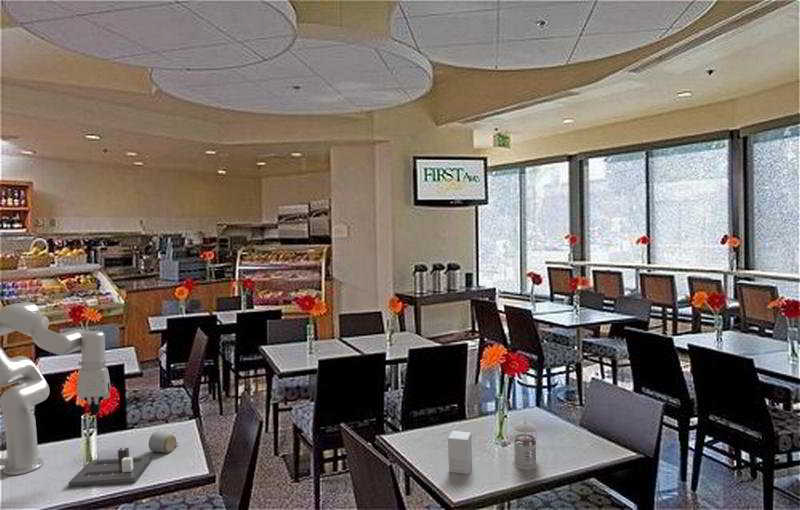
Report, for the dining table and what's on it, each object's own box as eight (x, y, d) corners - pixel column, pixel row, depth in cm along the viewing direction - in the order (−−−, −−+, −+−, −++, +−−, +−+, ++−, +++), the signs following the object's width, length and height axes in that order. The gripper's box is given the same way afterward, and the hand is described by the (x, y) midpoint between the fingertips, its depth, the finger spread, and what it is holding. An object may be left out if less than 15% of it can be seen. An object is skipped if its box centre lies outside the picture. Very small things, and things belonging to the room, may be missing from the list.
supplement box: (472, 465, 205) (472, 432, 204) (468, 474, 198) (467, 439, 197) (453, 463, 207) (452, 430, 206) (448, 472, 200) (447, 437, 199)
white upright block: (122, 472, 201) (121, 459, 201) (124, 469, 204) (124, 457, 203) (131, 471, 202) (130, 459, 201) (133, 468, 204) (132, 456, 204)
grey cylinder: (165, 456, 220) (164, 437, 219) (148, 454, 222) (147, 435, 222) (183, 446, 230) (182, 427, 229) (167, 444, 232) (166, 425, 232)
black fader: (118, 462, 210) (117, 450, 209) (120, 459, 212) (120, 447, 212) (126, 461, 210) (126, 449, 210) (129, 459, 212) (128, 447, 212)
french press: (506, 464, 205) (505, 397, 204) (523, 454, 214) (522, 389, 212) (530, 472, 199) (529, 403, 197) (546, 461, 207) (546, 394, 206)
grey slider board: (68, 488, 195) (68, 482, 195) (91, 465, 213) (90, 460, 213) (135, 483, 197) (134, 477, 197) (151, 461, 215) (151, 455, 215)
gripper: (67, 368, 201) (68, 417, 203) (110, 367, 203) (111, 417, 204) (77, 362, 209) (78, 410, 210) (119, 362, 210) (120, 410, 211)
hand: (94, 413), depth 207 cm, fingers closed
